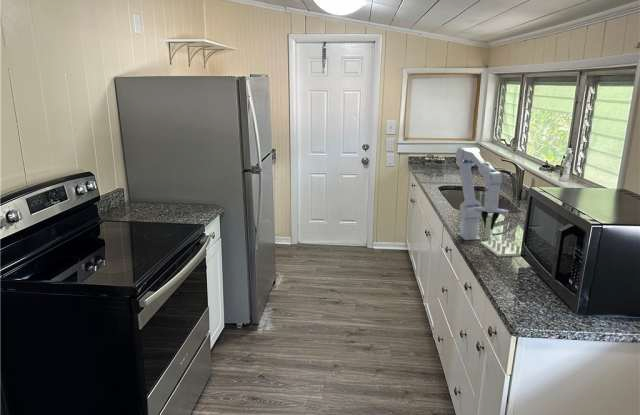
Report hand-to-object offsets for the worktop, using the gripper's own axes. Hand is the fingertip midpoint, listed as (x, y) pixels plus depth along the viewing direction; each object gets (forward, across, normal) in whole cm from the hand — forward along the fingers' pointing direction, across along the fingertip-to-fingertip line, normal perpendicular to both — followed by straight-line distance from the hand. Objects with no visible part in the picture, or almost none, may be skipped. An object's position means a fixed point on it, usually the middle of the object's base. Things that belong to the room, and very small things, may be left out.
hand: (489, 228), depth 197 cm
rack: (+9, +6, +2) cm, 12 cm away
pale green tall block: (+3, 0, 0) cm, 3 cm away
